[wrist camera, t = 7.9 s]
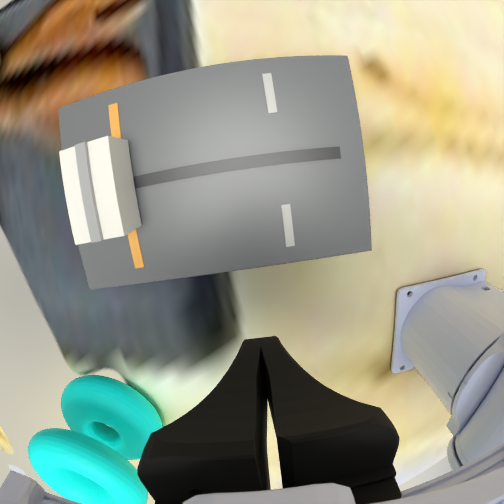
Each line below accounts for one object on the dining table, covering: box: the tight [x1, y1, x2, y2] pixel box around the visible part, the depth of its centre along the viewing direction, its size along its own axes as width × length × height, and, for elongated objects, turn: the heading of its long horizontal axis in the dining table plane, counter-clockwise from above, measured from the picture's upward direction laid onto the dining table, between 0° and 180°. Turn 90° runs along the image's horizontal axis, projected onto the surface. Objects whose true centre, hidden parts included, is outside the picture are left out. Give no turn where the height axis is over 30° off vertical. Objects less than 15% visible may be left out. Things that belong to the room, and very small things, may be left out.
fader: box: [59, 136, 142, 245], centre depth 15 cm, size 3×5×3 cm, turn 8°
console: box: [59, 56, 372, 289], centre depth 18 cm, size 18×12×3 cm, turn 98°
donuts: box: [28, 375, 163, 504], centre depth 19 cm, size 10×10×10 cm
